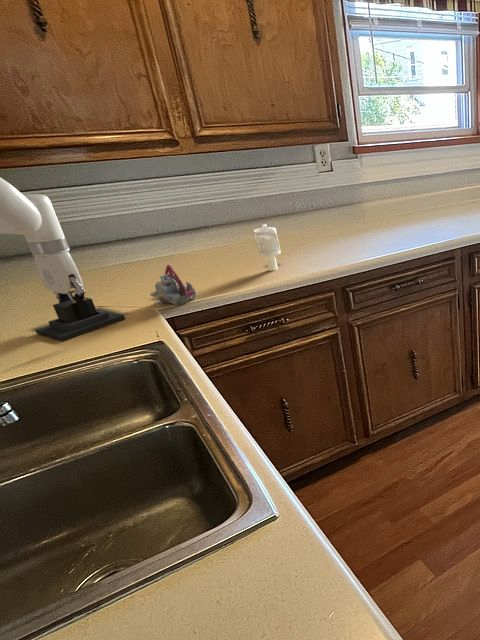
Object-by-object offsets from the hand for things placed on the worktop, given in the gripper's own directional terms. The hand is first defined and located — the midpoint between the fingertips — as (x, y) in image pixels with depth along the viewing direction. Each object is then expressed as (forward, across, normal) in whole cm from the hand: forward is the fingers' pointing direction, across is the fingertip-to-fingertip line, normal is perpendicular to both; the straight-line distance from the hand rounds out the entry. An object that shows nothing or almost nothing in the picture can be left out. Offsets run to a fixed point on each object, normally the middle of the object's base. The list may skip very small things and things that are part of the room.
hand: (77, 313), depth 137 cm
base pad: (+4, 0, 0) cm, 4 cm away
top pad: (+1, 0, 0) cm, 1 cm away
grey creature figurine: (+4, +7, +23) cm, 24 cm away
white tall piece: (+4, +9, +58) cm, 59 cm away
